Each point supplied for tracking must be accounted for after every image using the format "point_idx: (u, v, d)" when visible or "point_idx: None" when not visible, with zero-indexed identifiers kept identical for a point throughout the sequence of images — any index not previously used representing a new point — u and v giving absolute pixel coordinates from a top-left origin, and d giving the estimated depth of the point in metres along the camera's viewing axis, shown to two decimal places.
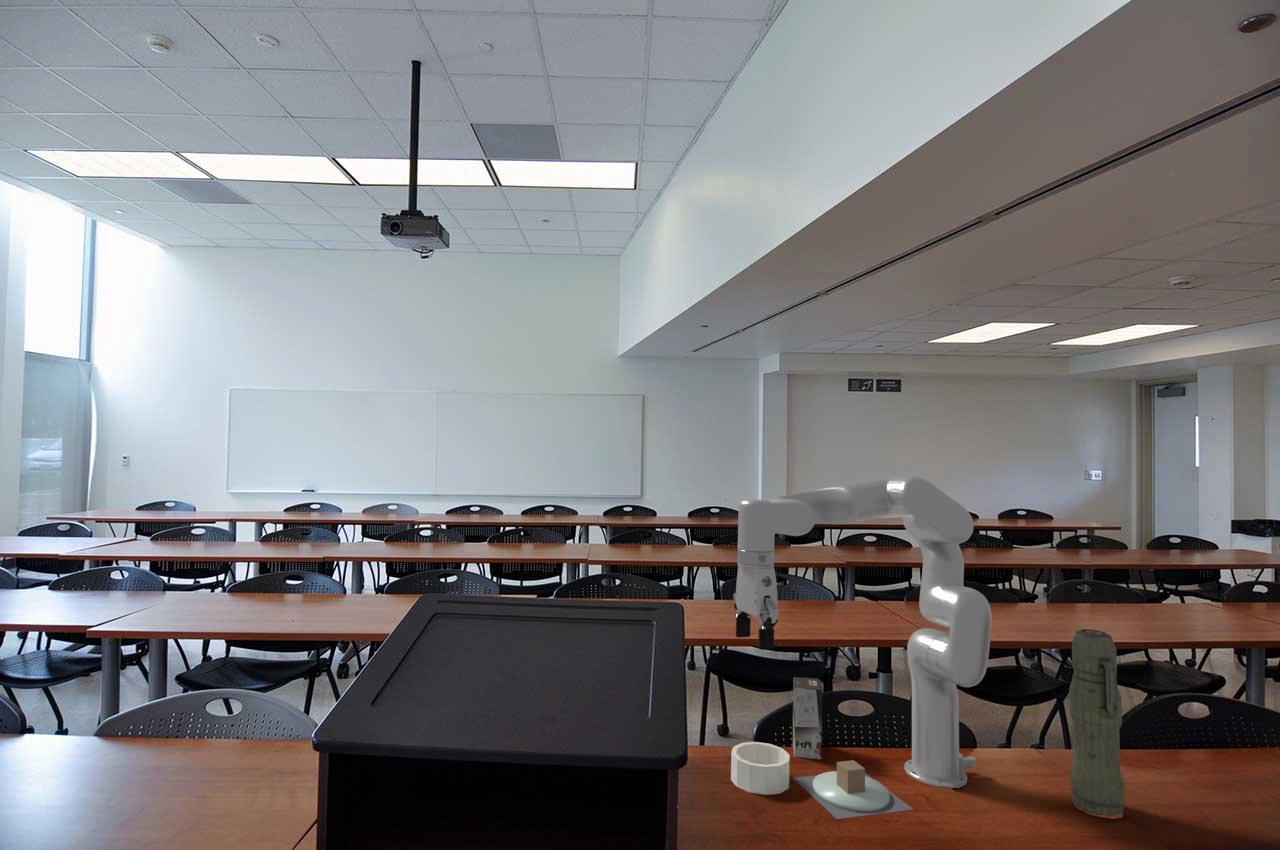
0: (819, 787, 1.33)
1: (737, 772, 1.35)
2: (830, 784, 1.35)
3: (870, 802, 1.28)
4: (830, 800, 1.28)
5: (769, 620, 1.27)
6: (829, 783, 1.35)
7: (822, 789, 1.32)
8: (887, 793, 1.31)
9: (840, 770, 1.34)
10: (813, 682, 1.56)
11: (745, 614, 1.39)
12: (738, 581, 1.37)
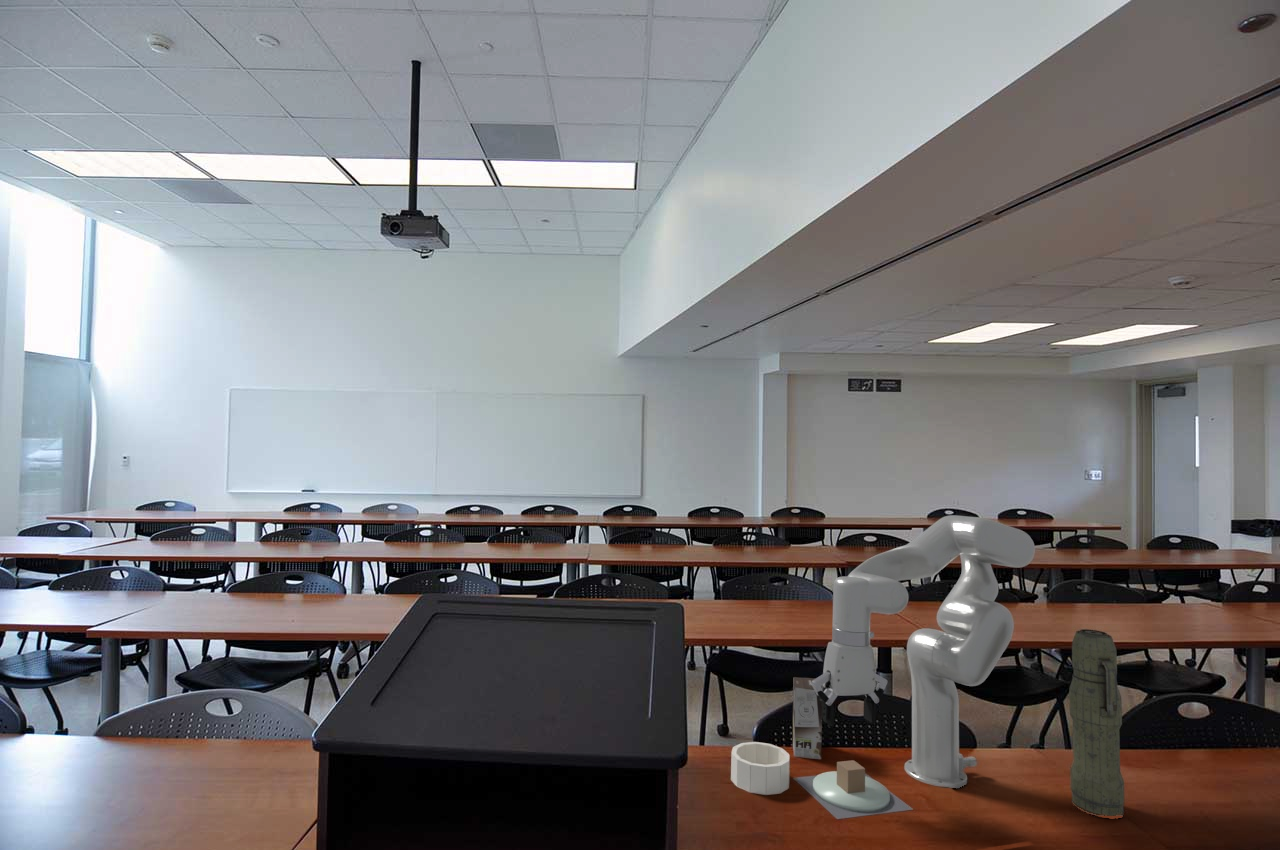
0: (819, 787, 1.33)
1: (737, 772, 1.35)
2: (830, 784, 1.35)
3: (870, 802, 1.28)
4: (830, 800, 1.28)
5: (883, 691, 1.36)
6: (829, 782, 1.35)
7: (822, 789, 1.32)
8: (887, 793, 1.31)
9: (840, 770, 1.34)
10: None
11: None
12: (843, 666, 1.32)
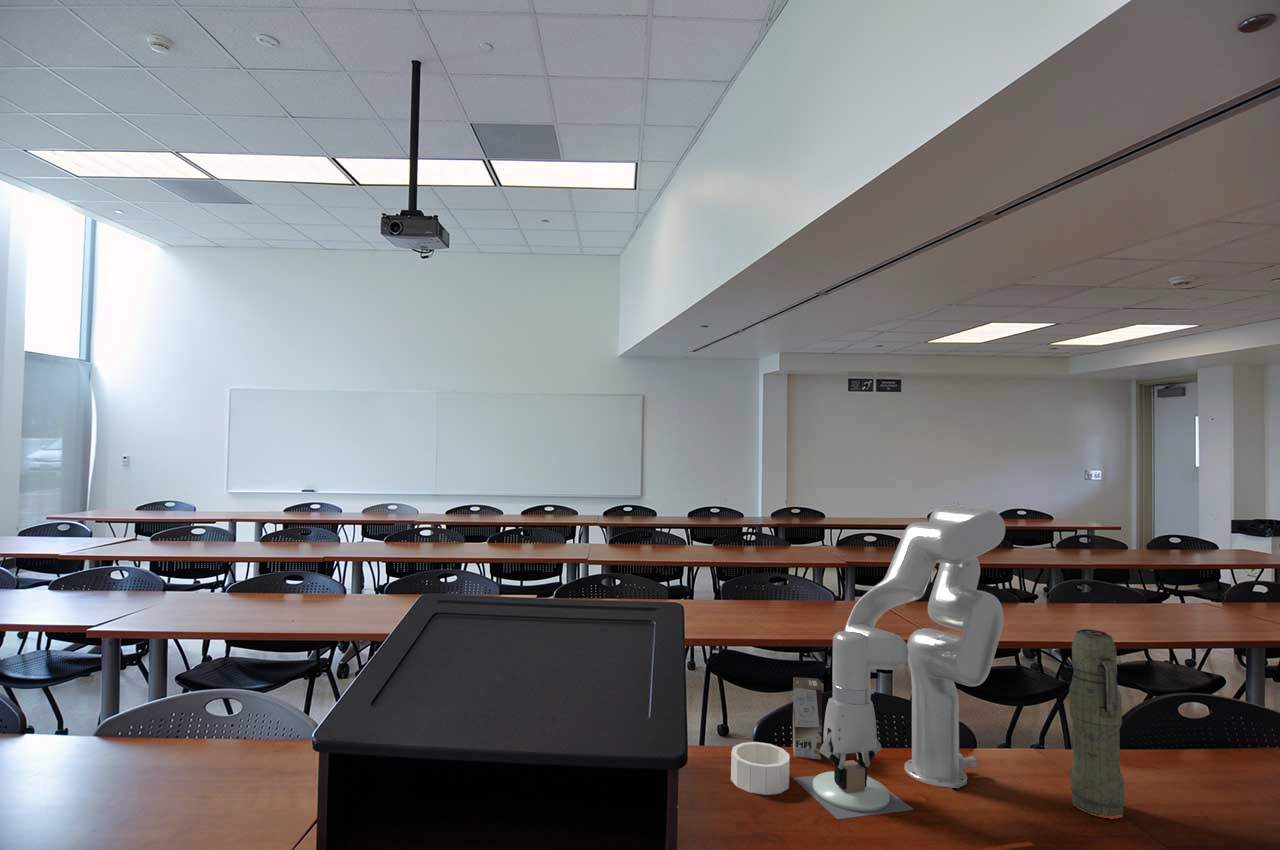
0: (819, 787, 1.33)
1: (737, 772, 1.35)
2: (830, 784, 1.35)
3: (870, 802, 1.28)
4: (830, 800, 1.28)
5: (873, 753, 1.34)
6: (829, 782, 1.35)
7: (822, 789, 1.32)
8: (887, 793, 1.31)
9: None
10: (813, 682, 1.56)
11: None
12: (844, 724, 1.31)
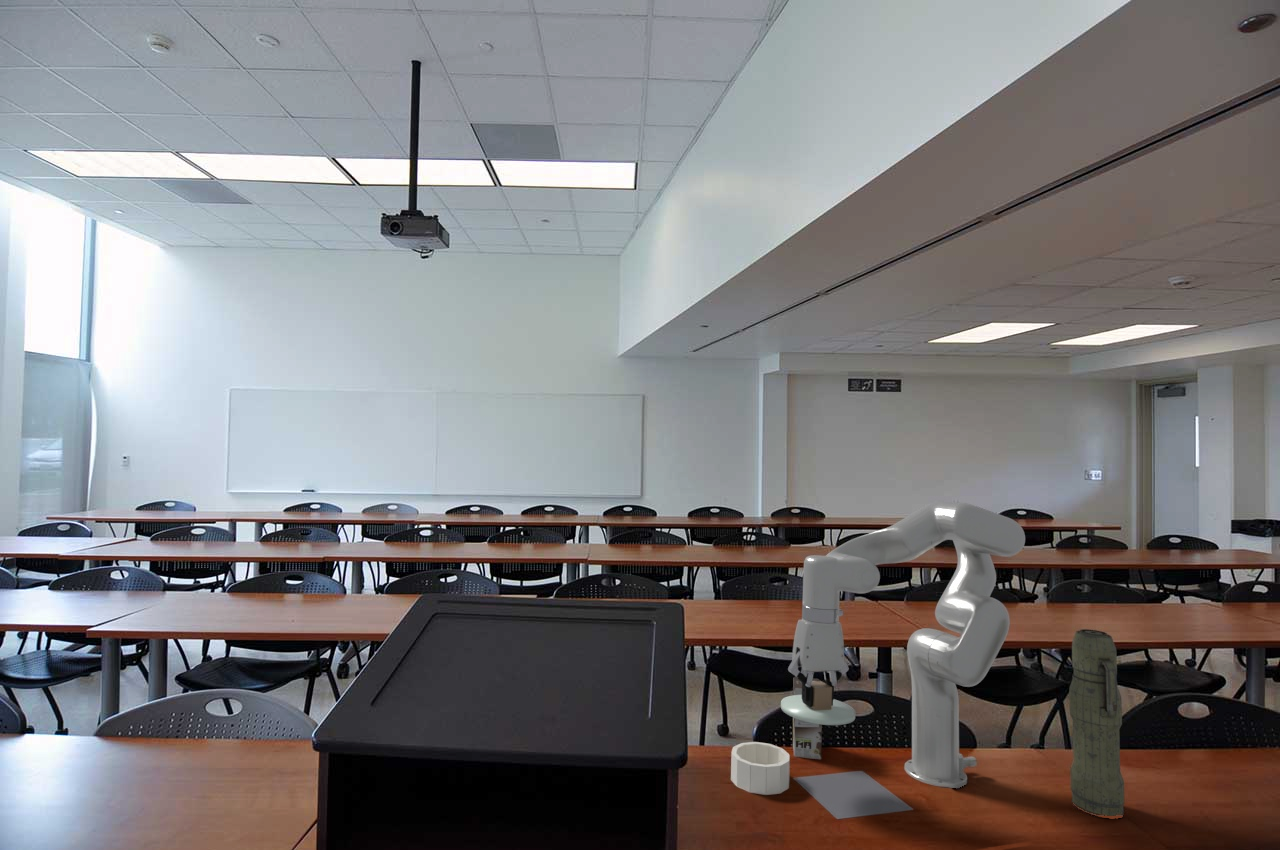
0: (787, 705, 1.36)
1: (737, 772, 1.35)
2: (798, 703, 1.37)
3: (836, 717, 1.30)
4: (797, 715, 1.31)
5: (841, 674, 1.37)
6: (797, 702, 1.38)
7: (789, 706, 1.35)
8: (853, 711, 1.34)
9: None
10: None
11: None
12: (812, 642, 1.34)
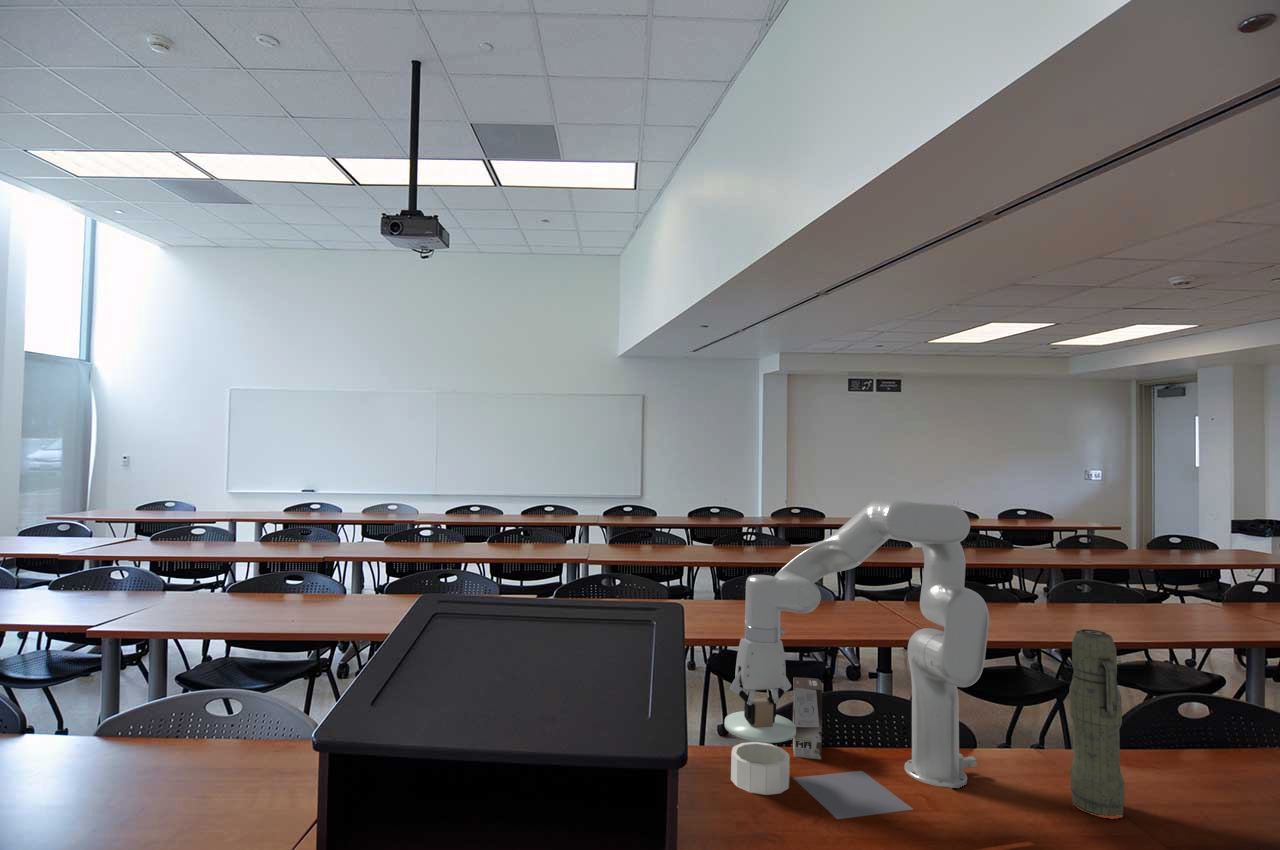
0: (729, 722, 1.38)
1: (737, 772, 1.35)
2: (741, 720, 1.40)
3: (775, 734, 1.33)
4: (737, 732, 1.34)
5: (783, 691, 1.40)
6: (740, 719, 1.40)
7: (732, 724, 1.38)
8: (794, 728, 1.37)
9: None
10: (813, 682, 1.56)
11: None
12: (753, 661, 1.37)
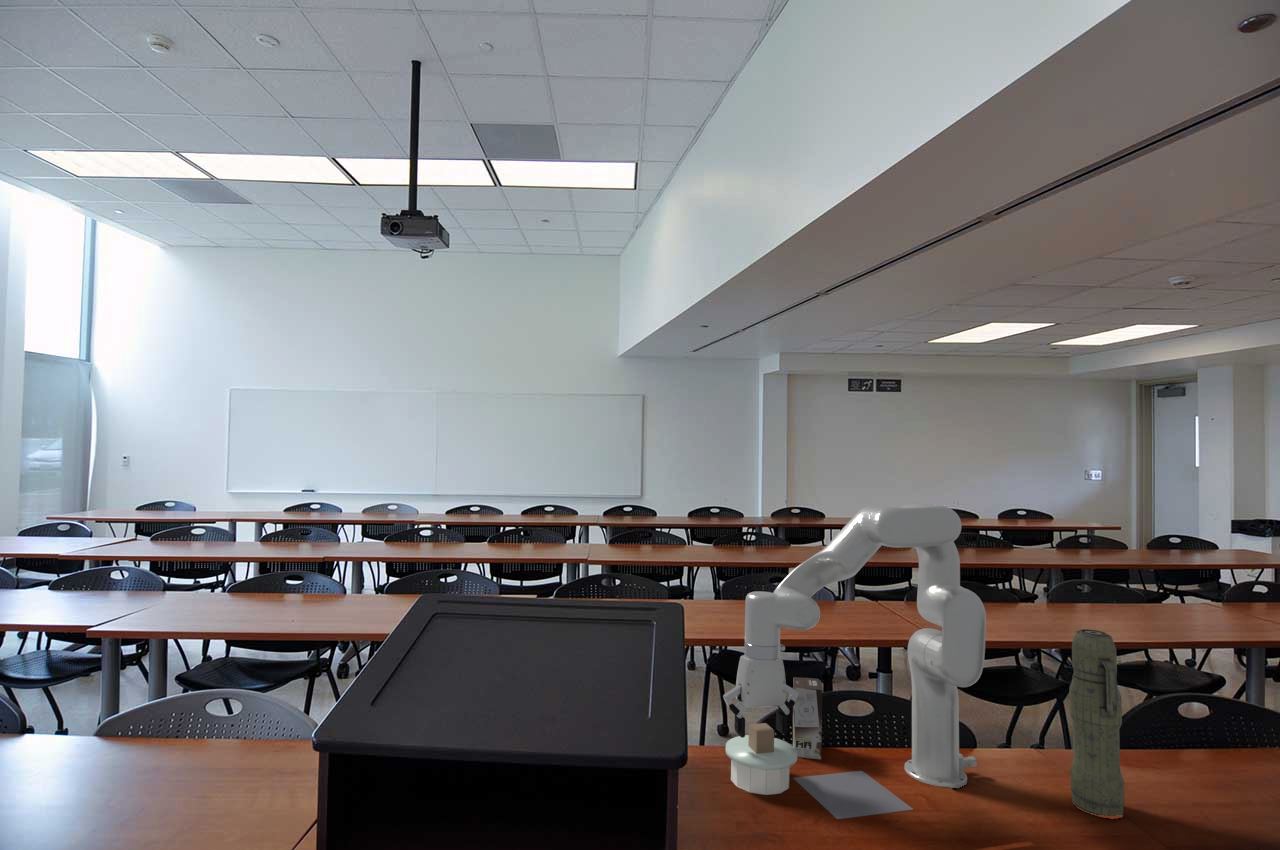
0: (730, 748, 1.38)
1: (737, 772, 1.35)
2: (742, 745, 1.39)
3: (776, 761, 1.32)
4: (738, 759, 1.33)
5: (794, 702, 1.40)
6: (741, 744, 1.40)
7: (733, 750, 1.37)
8: (795, 753, 1.36)
9: (751, 732, 1.38)
10: (813, 682, 1.56)
11: None
12: (753, 679, 1.36)
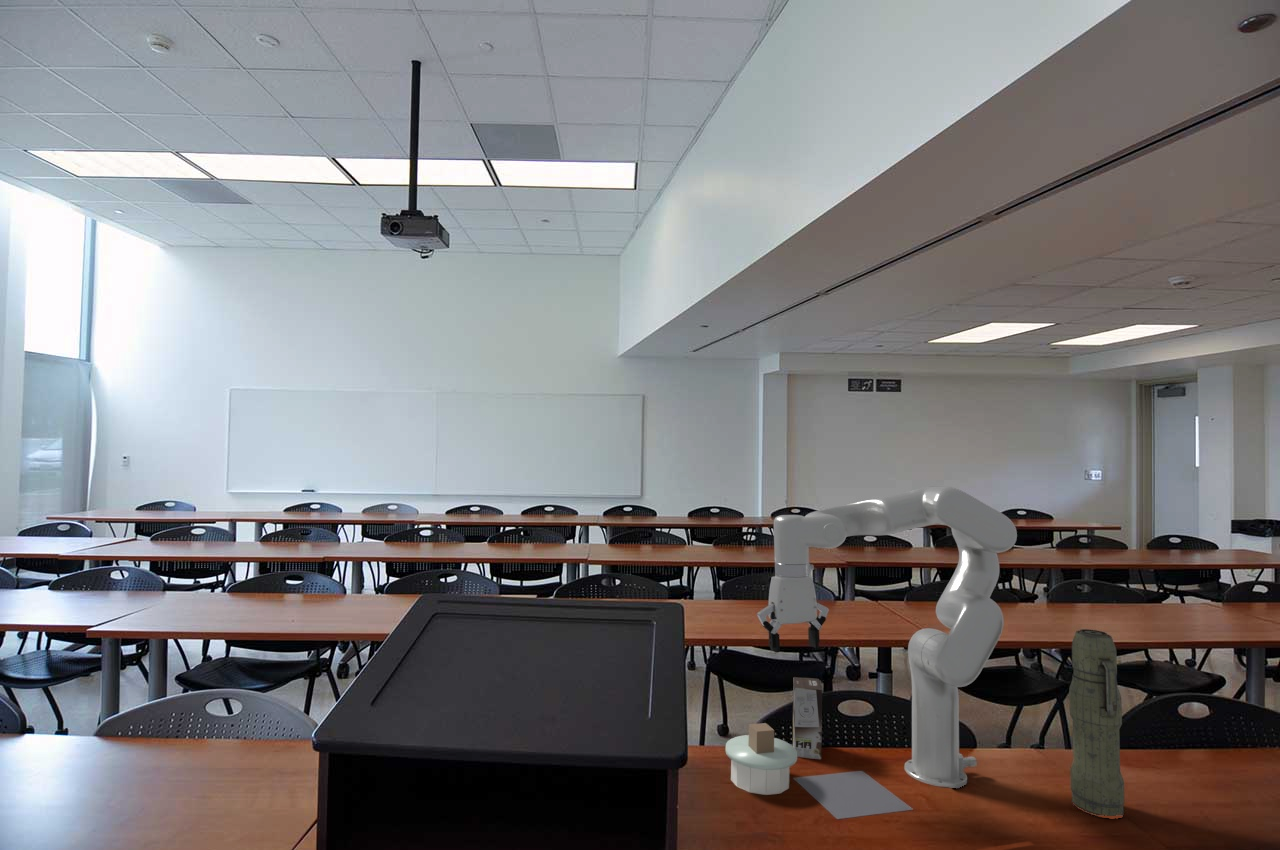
0: (730, 748, 1.38)
1: (737, 772, 1.35)
2: (742, 745, 1.39)
3: (776, 761, 1.32)
4: (738, 759, 1.33)
5: (825, 618, 1.46)
6: (741, 744, 1.40)
7: (733, 750, 1.37)
8: (795, 753, 1.36)
9: (751, 732, 1.38)
10: (813, 682, 1.56)
11: None
12: (785, 596, 1.42)
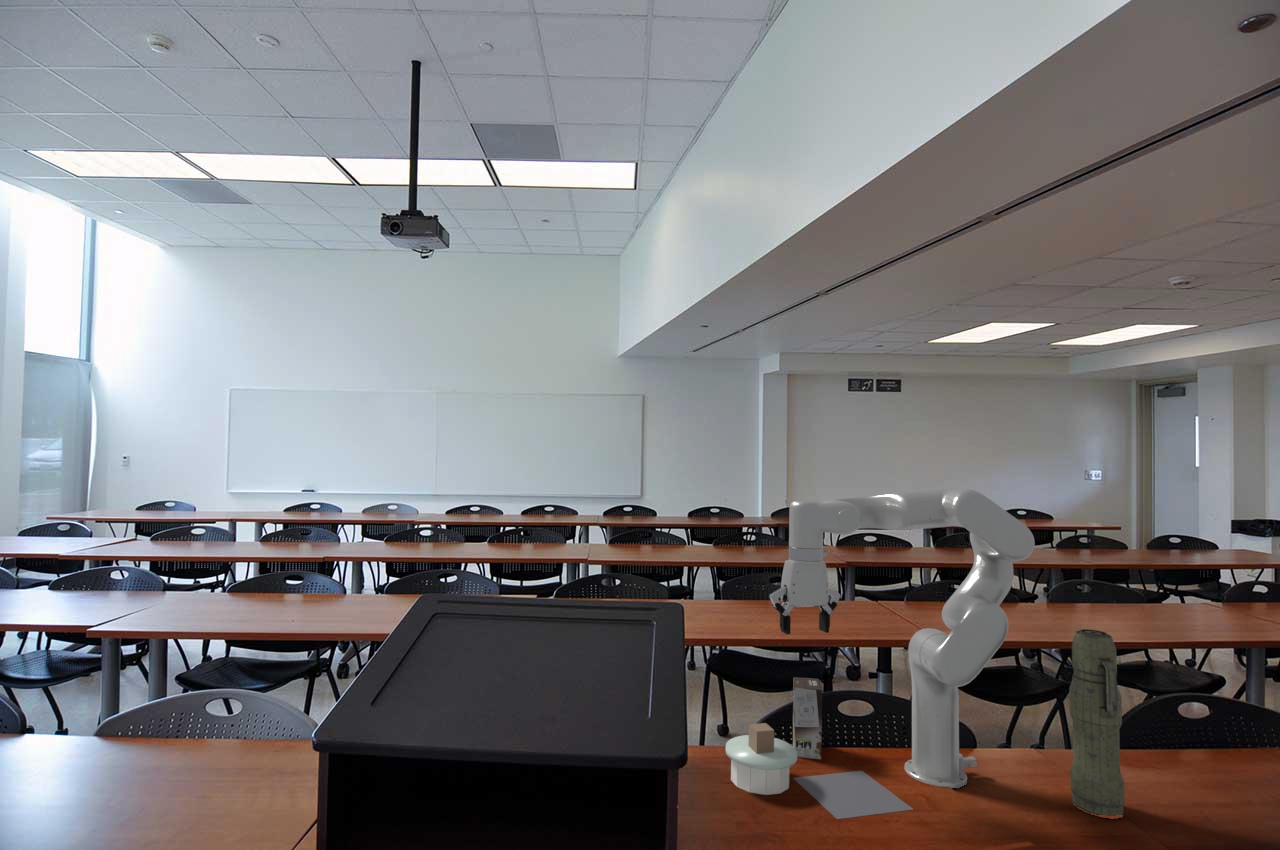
0: (730, 748, 1.38)
1: (737, 772, 1.35)
2: (742, 745, 1.39)
3: (776, 761, 1.32)
4: (738, 759, 1.33)
5: (836, 604, 1.48)
6: (741, 744, 1.40)
7: (733, 750, 1.37)
8: (795, 753, 1.36)
9: (751, 732, 1.38)
10: (813, 682, 1.56)
11: None
12: (798, 579, 1.44)
